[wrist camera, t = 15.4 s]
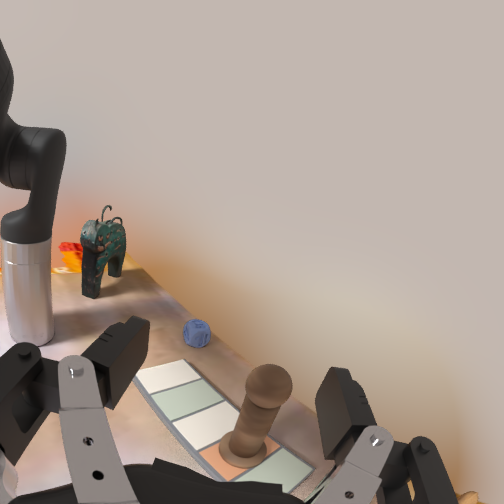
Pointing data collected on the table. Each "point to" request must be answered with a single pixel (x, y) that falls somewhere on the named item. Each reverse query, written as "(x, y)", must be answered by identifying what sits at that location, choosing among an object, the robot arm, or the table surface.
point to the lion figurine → (468, 498)
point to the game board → (211, 426)
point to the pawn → (256, 416)
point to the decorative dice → (196, 333)
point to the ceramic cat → (101, 252)
